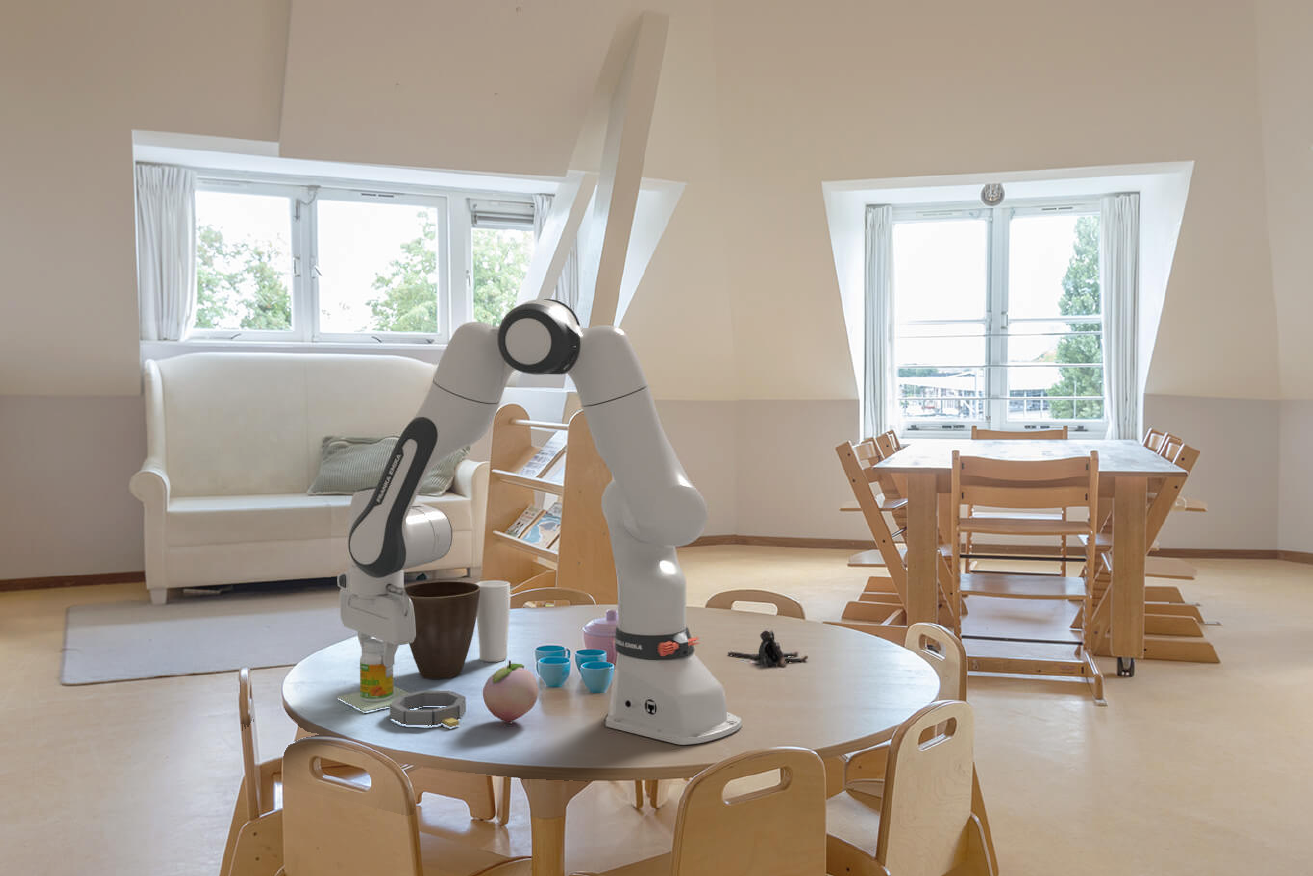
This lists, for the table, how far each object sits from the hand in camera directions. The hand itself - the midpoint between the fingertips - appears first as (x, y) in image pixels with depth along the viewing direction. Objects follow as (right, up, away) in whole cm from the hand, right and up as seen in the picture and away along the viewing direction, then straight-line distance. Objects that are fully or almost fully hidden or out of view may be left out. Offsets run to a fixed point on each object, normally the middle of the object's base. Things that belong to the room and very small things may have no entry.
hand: (377, 661), depth 167 cm
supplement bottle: (0, -6, 0) cm, 6 cm away
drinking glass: (+15, -6, +27) cm, 31 cm away
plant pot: (+7, -6, +16) cm, 19 cm away
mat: (0, -7, 0) cm, 7 cm away
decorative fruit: (+24, -7, -11) cm, 28 cm away
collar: (+10, -7, -8) cm, 15 cm away
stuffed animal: (+69, -6, +27) cm, 74 cm away
